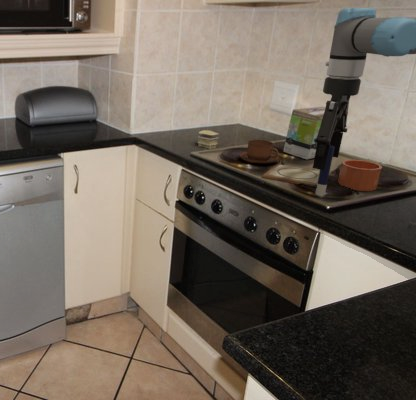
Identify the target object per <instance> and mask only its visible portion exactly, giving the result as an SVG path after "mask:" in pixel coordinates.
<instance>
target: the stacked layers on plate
mask: <svg viewBox="0 0 416 400" xmlns="http://www.w3.org/2000/svg"><path fill="white" fill-rule="evenodd" d="M216 135H219V133H218V132H216V131H213V130H207V129H206V130H205V129H204V130H200V131H198V136H197V137H198V140H197V146H198V147H201V148H202V147H203V148H206V149H209V150H212V149H217V145H218V144H219V143H218V140H219V139H220V137H218V136H216Z"/></svg>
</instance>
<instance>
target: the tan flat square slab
mask: <svg viewBox="0 0 416 400" xmlns="http://www.w3.org/2000/svg"><path fill="white" fill-rule="evenodd" d="M319 173H320V170H316V169H308V168H303V167H297V166H292V165H285V164H279V163H277V164H275V165H274V166H273V167H270V169H269V170H267V171H266V172H265V173H263V174H261V178H262V179H267V180H272V181H277V182H283V183H289V184H294V185H298V184H300V183H304V184H310V185H317V183H318V178H319ZM329 176H330V177H332V173H331V172H329Z"/></svg>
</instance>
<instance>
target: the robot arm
mask: <svg viewBox="0 0 416 400" xmlns="http://www.w3.org/2000/svg"><path fill="white" fill-rule="evenodd" d="M336 17H337V18H336V21H335V25H334V27H333V28H334V29H333V35H332V40H331V47H330V50H329V51H330V53H329V58H328V61H326V62H325V66H326V67H327V68H326V75H327V77H325V79H324V82H323V87H322V92H323V93H324V94H326V95H330V96H331V97H330V100H326V102H325V107H326V108H325V112H324V115H323V118H322V122H321V125H320V128H319V132H318V135H317V138H316V139H314V142H316V143H317V148H316V153H315V158H313V163H312V169H314V170H319V171H320V170H325V169H326V164H327V159H328V154H329V150H330V145H331V146H334V152H333V157H332V158H339V156H340V155H339V154H340V149H341V146H342V142H343V141H342V140H343V136H344V133H348V128H347V124H348V123H347V122H348V116H347V114H349V105H350V99H351V97H354V96H357V95H359V92H360V87H361V83H362V80H361V79H360V78H361V77H363V75H364V70H365V66H366V61H367V56H368V55H367V54H372V55H377V56H383V57H403V56H406V55H416V16H411V17H410V16H401V17H399V16H394V17H377V9H376V8H374V7H343V8H342V9H340V10H339V12H338V14H337V16H336ZM341 132H343V133H341ZM324 137H325V138H324Z"/></svg>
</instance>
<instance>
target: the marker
mask: <svg viewBox="0 0 416 400" xmlns="http://www.w3.org/2000/svg"><path fill="white" fill-rule="evenodd" d="M333 152H334V146H331V145H330V150H329V154H328V159H327V164H326V169H325V170H320V169H319V171H320V173H319V178H318V183H317V188H315V195H316V196H318V197H324V196H326V191H327V187H328V181H329V178H330V177H329V173H331V172H330V171H331V166H332V162H333V158H334V157H333ZM328 177H329V178H328Z"/></svg>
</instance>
